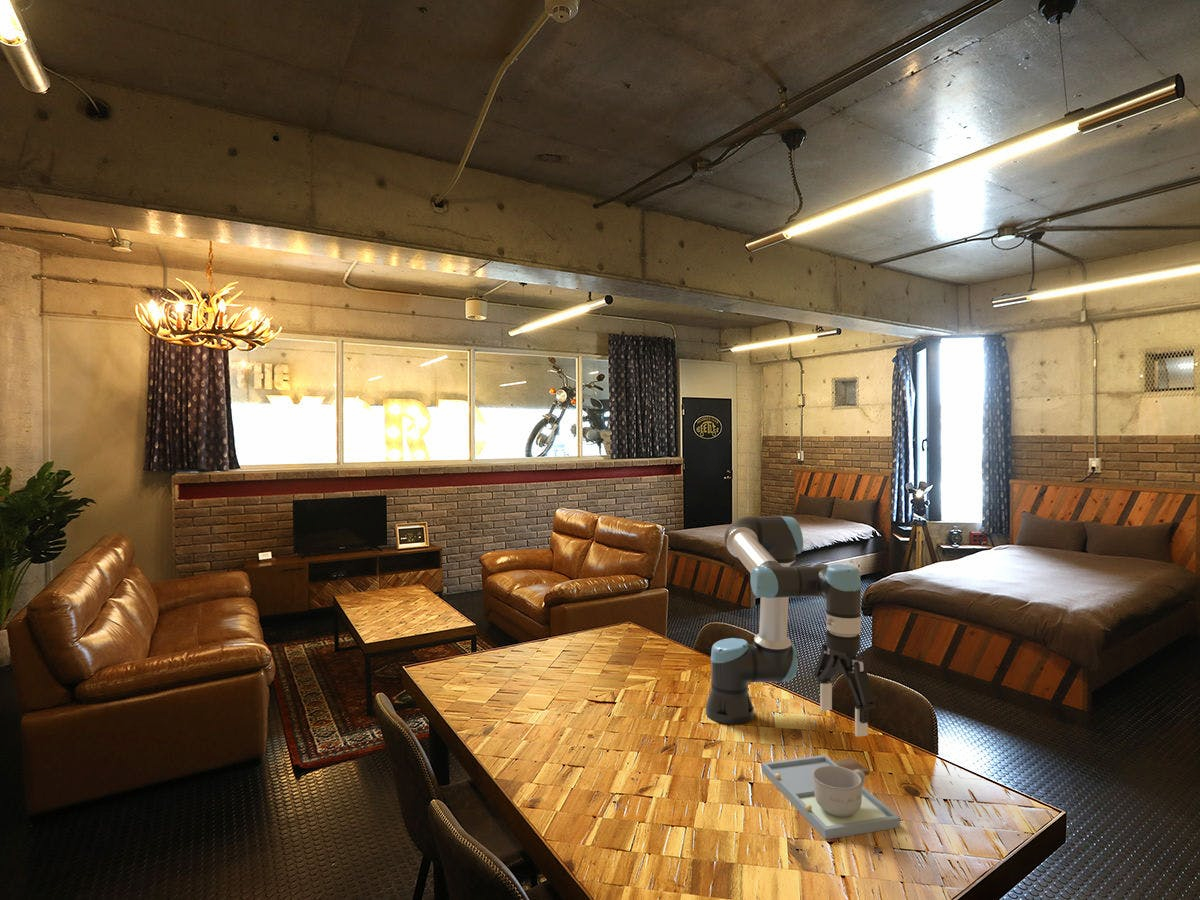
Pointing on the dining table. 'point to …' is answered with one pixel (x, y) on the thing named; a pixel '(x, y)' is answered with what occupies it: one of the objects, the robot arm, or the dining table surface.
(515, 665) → the dining table surface
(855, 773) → the teacup
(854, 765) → the walnut coaster
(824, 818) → the grey divided tray
